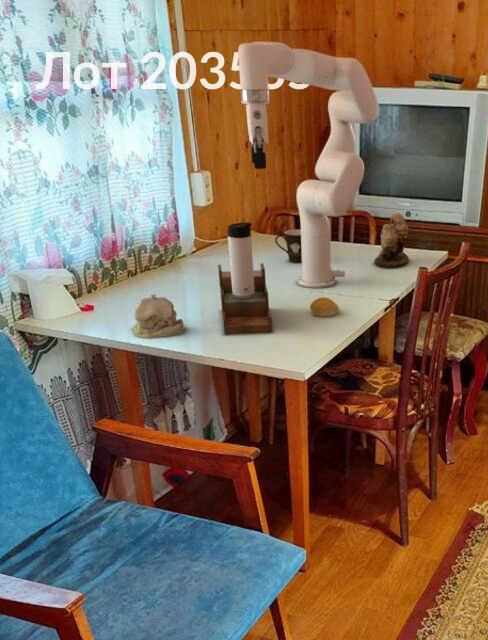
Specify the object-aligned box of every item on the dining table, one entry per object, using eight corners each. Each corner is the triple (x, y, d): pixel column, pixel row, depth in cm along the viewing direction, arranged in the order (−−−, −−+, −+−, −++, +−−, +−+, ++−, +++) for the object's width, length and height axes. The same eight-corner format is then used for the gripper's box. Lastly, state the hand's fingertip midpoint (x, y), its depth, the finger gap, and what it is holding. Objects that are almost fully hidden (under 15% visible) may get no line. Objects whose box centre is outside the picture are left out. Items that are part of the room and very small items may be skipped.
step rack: (265, 308, 223) (263, 263, 216) (271, 332, 206) (269, 283, 199) (222, 310, 221) (218, 264, 214) (224, 334, 204) (220, 285, 196)
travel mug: (251, 300, 207) (246, 226, 196) (229, 298, 208) (223, 224, 197) (259, 294, 212) (254, 221, 201) (237, 292, 213) (231, 219, 202)
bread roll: (316, 318, 217) (316, 305, 214) (307, 309, 223) (307, 296, 221) (343, 316, 219) (343, 302, 217) (333, 306, 226) (333, 293, 224)
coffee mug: (314, 260, 271) (313, 231, 265) (300, 265, 264) (299, 236, 259) (289, 255, 276) (288, 227, 270) (274, 260, 270) (273, 231, 264)
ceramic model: (130, 338, 200) (124, 302, 194) (134, 324, 209) (128, 289, 204) (183, 336, 202) (179, 300, 197) (185, 322, 211) (180, 287, 206)
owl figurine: (383, 254, 279) (384, 206, 270) (413, 257, 276) (416, 209, 267) (369, 266, 265) (370, 216, 255) (401, 270, 262) (403, 219, 252)
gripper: (271, 99, 194) (275, 170, 203) (266, 94, 208) (269, 161, 218) (243, 99, 193) (247, 171, 202) (239, 94, 207) (243, 161, 216)
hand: (259, 165), depth 210 cm, fingers open, 9 cm apart
